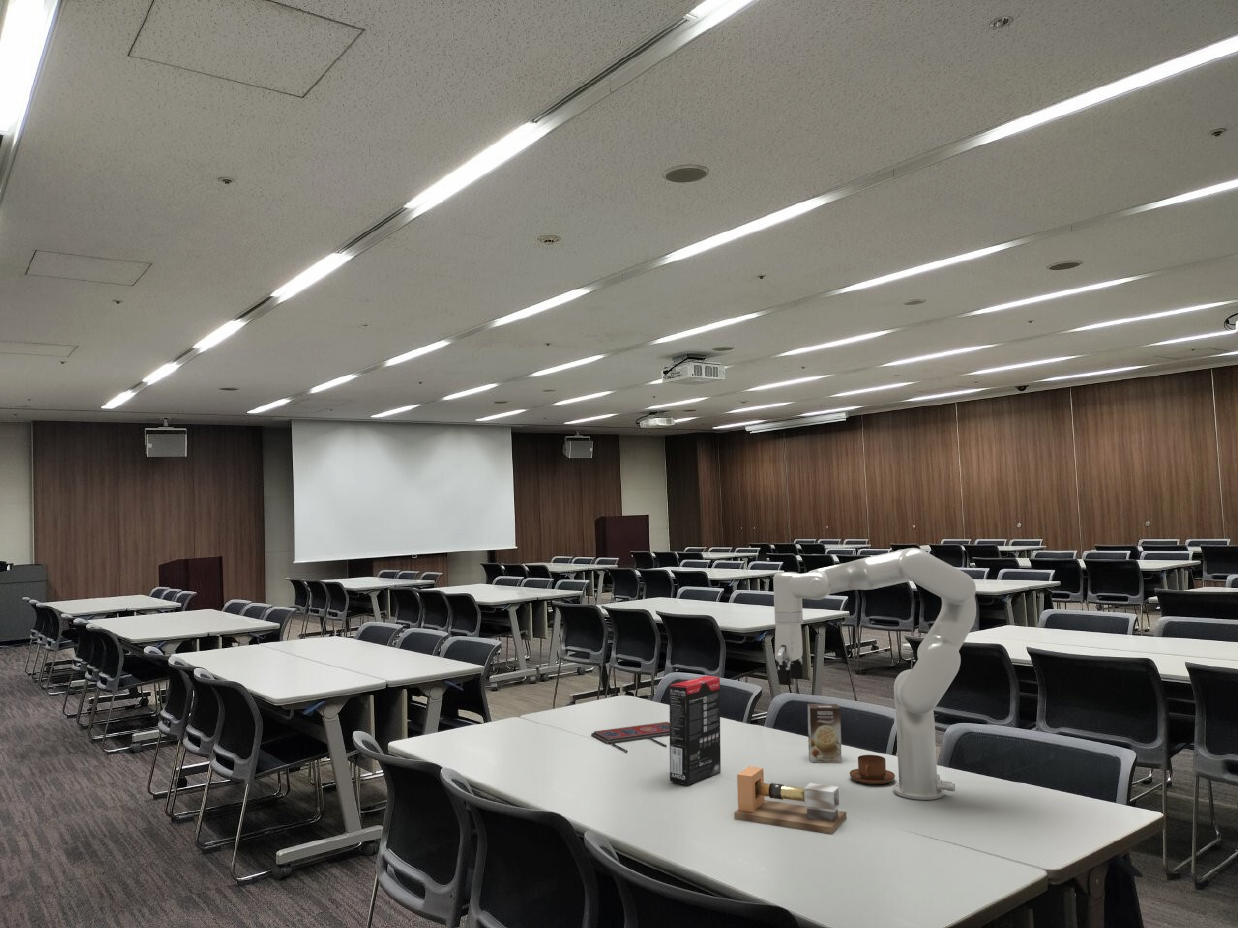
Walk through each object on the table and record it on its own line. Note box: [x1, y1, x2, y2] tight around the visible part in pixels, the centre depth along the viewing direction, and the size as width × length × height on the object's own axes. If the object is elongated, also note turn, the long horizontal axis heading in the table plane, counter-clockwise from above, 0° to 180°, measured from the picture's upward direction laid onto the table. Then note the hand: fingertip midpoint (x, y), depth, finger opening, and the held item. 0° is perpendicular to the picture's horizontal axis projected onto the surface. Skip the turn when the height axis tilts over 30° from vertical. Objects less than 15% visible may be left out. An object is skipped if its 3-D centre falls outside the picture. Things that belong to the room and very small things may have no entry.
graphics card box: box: [668, 675, 722, 786], centre depth 246 cm, size 17×7×27 cm, turn 141°
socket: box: [736, 765, 765, 812], centre depth 215 cm, size 4×8×8 cm, turn 150°
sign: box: [590, 721, 670, 753], centre depth 291 cm, size 27×2×30 cm
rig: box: [733, 782, 847, 835], centre depth 210 cm, size 24×12×8 cm, turn 60°
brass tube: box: [755, 782, 805, 803], centre depth 211 cm, size 16×4×4 cm, turn 60°
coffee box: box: [807, 703, 843, 764], centre depth 261 cm, size 9×6×16 cm
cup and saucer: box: [849, 754, 896, 785], centre depth 239 cm, size 12×12×6 cm
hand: (791, 681), depth 235 cm, fingers open, 9 cm apart
